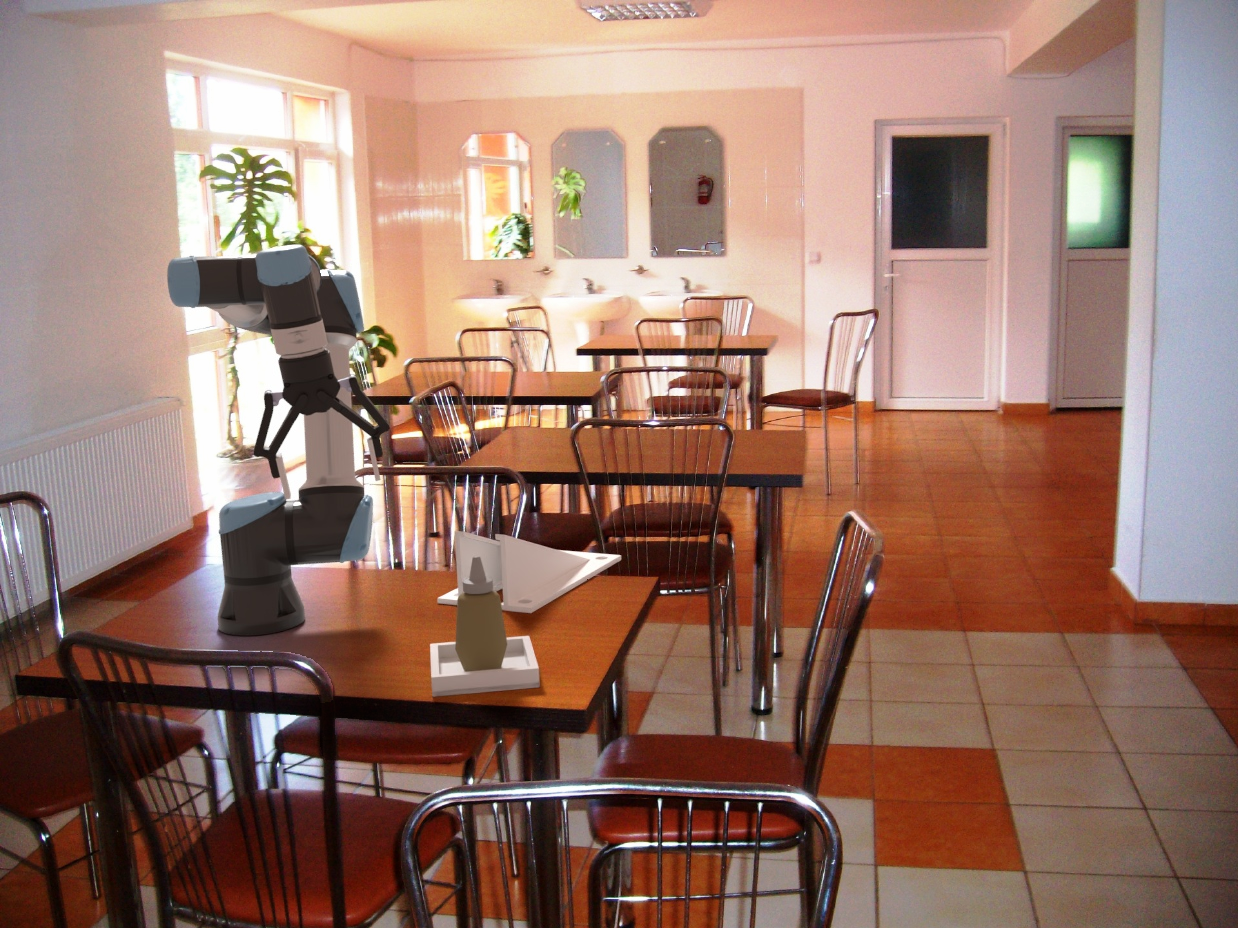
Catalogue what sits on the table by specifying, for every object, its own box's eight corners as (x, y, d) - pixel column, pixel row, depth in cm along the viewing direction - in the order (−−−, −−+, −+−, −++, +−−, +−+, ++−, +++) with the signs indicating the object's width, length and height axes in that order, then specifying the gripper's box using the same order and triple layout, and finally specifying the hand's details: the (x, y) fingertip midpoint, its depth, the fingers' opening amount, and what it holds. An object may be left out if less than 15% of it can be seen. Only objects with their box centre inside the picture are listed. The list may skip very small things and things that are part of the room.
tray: (432, 696, 178) (431, 677, 178) (431, 661, 194) (430, 643, 193) (539, 687, 181) (538, 668, 180) (529, 653, 196) (529, 635, 196)
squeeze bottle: (499, 679, 182) (493, 564, 179) (449, 677, 184) (442, 563, 181) (514, 661, 190) (509, 551, 187) (466, 659, 192) (459, 550, 189)
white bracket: (433, 529, 224) (535, 488, 260) (437, 603, 226) (537, 552, 262) (527, 536, 216) (619, 493, 252) (530, 613, 218) (621, 559, 254)
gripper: (214, 372, 171) (248, 511, 177) (388, 340, 176) (416, 477, 182) (218, 363, 178) (251, 497, 184) (385, 332, 183) (412, 464, 189)
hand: (333, 487), depth 183 cm, fingers open, 13 cm apart
